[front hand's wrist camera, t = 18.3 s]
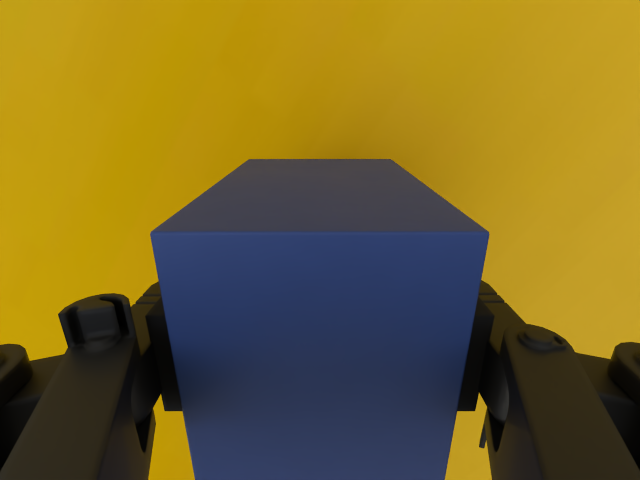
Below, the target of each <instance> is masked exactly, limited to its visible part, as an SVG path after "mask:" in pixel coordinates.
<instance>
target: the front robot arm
mask: <svg viewBox="0 0 640 480" xmlns="http://www.w3.org/2000/svg"><path fill="white" fill-rule="evenodd" d="M58 316H59V319H60V322H61V326H62V329H63V332H64V335H65V339H66V342H67V345H68V349H67V350H66V352H65V354H63V355H58V356H53V357H48V358H43V359H38V360H32V361H29V358H28V355H27V352H26V350H25V348H24V347H22V346H21V345H17V344H4V345H0V480H148V476H149V469H150V462H151V454H152V447H153V440H154V433H155V425H156V422H155V415H154V411H153V407H154V405H155V403H156V401H157V400H158V398H159V396H160V394H161V395H162V400H163V405H164V410H165V411H183V410H182V405H181V399H180V394H179V388H178V383H177V378H176V372H175V367H174V361H173V356H172V350H171V345H170V339H169V334H168V328H167V323H166V317H165V312H164V307H163V301H162V296H161V290H160V285H159V282H157V283H155V284H153V285H151V286H150V288H149V289H148V290H147V291H146V292H145V293H144V294H143V296H141V297H140V298H139V299H138V300H137V301H136V304H133V306H132V307H130V303H129V299H128V298H127V297H126V296H124V295H121V294H115V293H112V294H100V295H95V296H90V297H87V298H84V299H81V300H79V301H76V302H74V303H72V304H71V305H69V306H67V307H65V308H64V309H63V310H62V311H61V312H60V313H59V314H58ZM479 393H480V395H481V396H482V398H483V400H484V402H485V404H486V405H487V411H486V415H485V420H484V424H483V429H482V433H481V438H480V444H479V447H481V448H484V447H485V442H486V440H487V446H488V453H489V461H490V468H491V475H492V480H640V343H635V342H626V343H620V344H619V345H617V346H616V347H615V349H614V351H613V354H612V357H611V359H606V358H601V357H595V356H590V355H585V354H580V353H576V352H574V350H573V348H572V346H571V345H570V344H569V343H568V342H567V341H566V340H565V339H564V338H562V337H561V336H559V335H558V334H556V333H555V332H552V331H550V330H548V329H545V328H543V327H539V326H535V325H531V324H526V323H525V322H524V321H523V320H522V319H521V318H520V317H519V316H518V315H517V314H516V313H515V312H514V311H513V309H512V308H511V307H510V306H509V305H508V304H507V303H504V300H503V299H502V298H501V297H500V296H499V295H497V293H496V292H495V290H494V289H493V288H492V287H491V286H490V285H489V284H487V283H485V282H484V281H482V280H481V283H480V288H479V294H478V299H477V304H476V310H475V315H474V321H473V326H472V332H471V337H470V343H469V348H468V354H467V359H466V365H465V370H464V376H463V381H462V387H461V392H460V398H459V403H458V409H457V411H475V409H476V404H477V399H478V394H479Z"/></svg>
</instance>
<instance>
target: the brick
mask: <svg viewBox="0 0 640 480" xmlns="http://www.w3.org/2000/svg"><path fill="white" fill-rule="evenodd" d="M150 236H151V241H152V246H153V252H154V257H155V263H156V268H157V274H158V279H159V285H160V290H161V296H162V301H163V307H164V312H165V317H166V323H167V328H168V334H169V339H170V345H171V350H172V356H173V361H174V367H175V372H176V378H177V383H178V388H179V394H180V399H181V405H182V410H183V416H184V421H185V427H186V432H187V438H188V443H189V449H190V454H191V459H192V465H193V470H194V476H195V480H445V474H446V469H447V463H448V458H449V452H450V447H451V441H452V436H453V430H454V425H455V419H456V414H457V409H458V403H459V398H460V392H461V387H462V381H463V376H464V370H465V365H466V359H467V354H468V348H469V343H470V337H471V332H472V326H473V321H474V315H475V310H476V304H477V299H478V294H479V288H480V283H481V277H482V272H483V266H484V261H485V255H486V250H487V244H488V239H489V232H488V231H487V230H486V229H484V228H483V227H481V226H480V225H479V224H477V223H476V222H475V221H473V220H472V219H471V218H469V217H468V216H467V215H465V214H464V213H463V212H461V211H460V210H459V209H457V208H456V207H454V206H453V205H452V204H450V203H449V202H448V201H446V200H445V199H444V198H442V197H441V196H440V195H438V194H437V193H436V192H434V191H433V190H432V189H430V188H429V187H427V186H426V185H425V184H423V183H422V182H421V181H419V180H418V179H417V178H415V177H414V176H413V175H411V174H410V173H409V172H407V171H406V170H405V169H403V168H402V167H401V166H399V165H398V164H396V163H395V162H394V161H392V160H391V159H249V160H247V161H246V162H245V163H243V164H242V165H241V166H239V167H238V168H237V169H235V170H234V171H233V172H231V173H230V174H228V175H227V176H226V177H224V178H223V179H222V180H220V181H219V182H218V183H216V184H215V185H214V186H212V187H211V188H210V189H208V190H207V191H205V192H204V193H203V194H201V195H200V196H199V197H197V198H196V199H195V200H193V201H192V202H191V203H189V204H188V205H187V206H185V207H184V208H182V209H181V210H180V211H178V212H177V213H176V214H174V215H173V216H172V217H170V218H169V219H168V220H166V221H165V222H164V223H162V224H161V225H160V226H158V227H157V228H155V229H154V230H153V231H151V234H150Z"/></svg>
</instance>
